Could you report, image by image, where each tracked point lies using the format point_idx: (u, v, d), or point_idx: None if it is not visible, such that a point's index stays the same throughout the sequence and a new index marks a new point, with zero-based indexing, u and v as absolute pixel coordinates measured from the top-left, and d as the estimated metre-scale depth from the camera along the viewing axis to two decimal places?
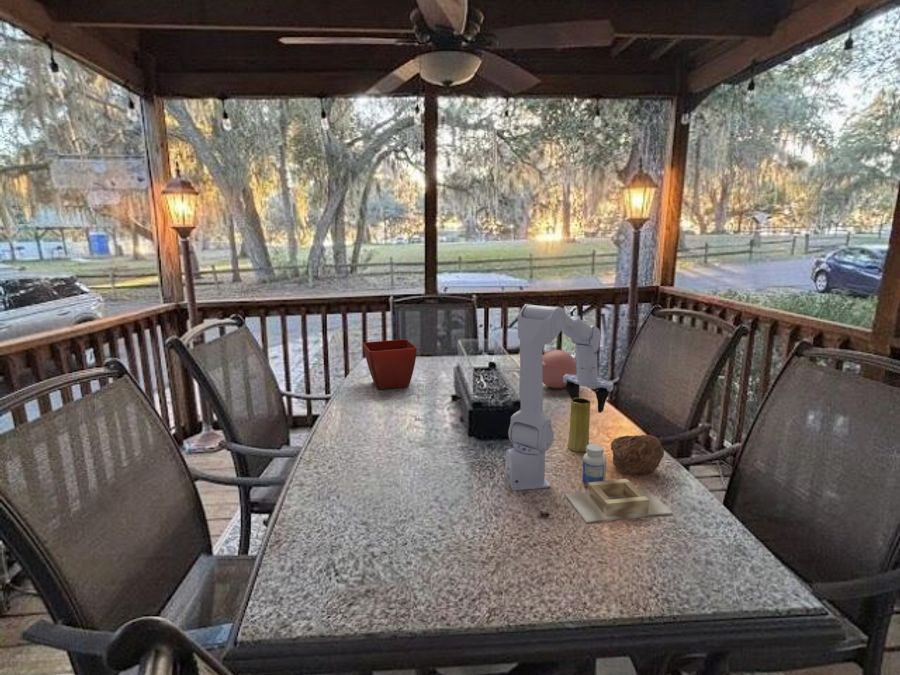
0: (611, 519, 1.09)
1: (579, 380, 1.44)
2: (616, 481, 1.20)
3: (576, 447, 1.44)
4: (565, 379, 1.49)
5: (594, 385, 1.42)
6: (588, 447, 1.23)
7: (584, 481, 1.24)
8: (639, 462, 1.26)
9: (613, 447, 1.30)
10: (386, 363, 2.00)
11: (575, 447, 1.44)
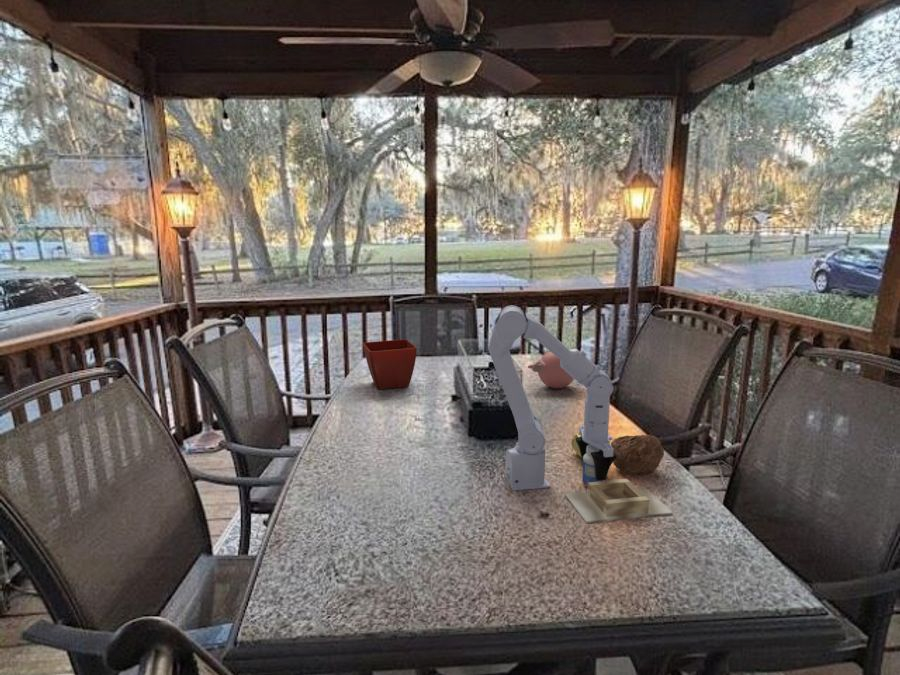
0: (611, 519, 1.09)
1: (583, 433, 1.23)
2: (616, 481, 1.20)
3: None
4: (580, 430, 1.29)
5: (592, 444, 1.20)
6: (588, 447, 1.23)
7: (584, 481, 1.24)
8: (639, 462, 1.26)
9: (613, 447, 1.30)
10: (386, 363, 2.00)
11: None
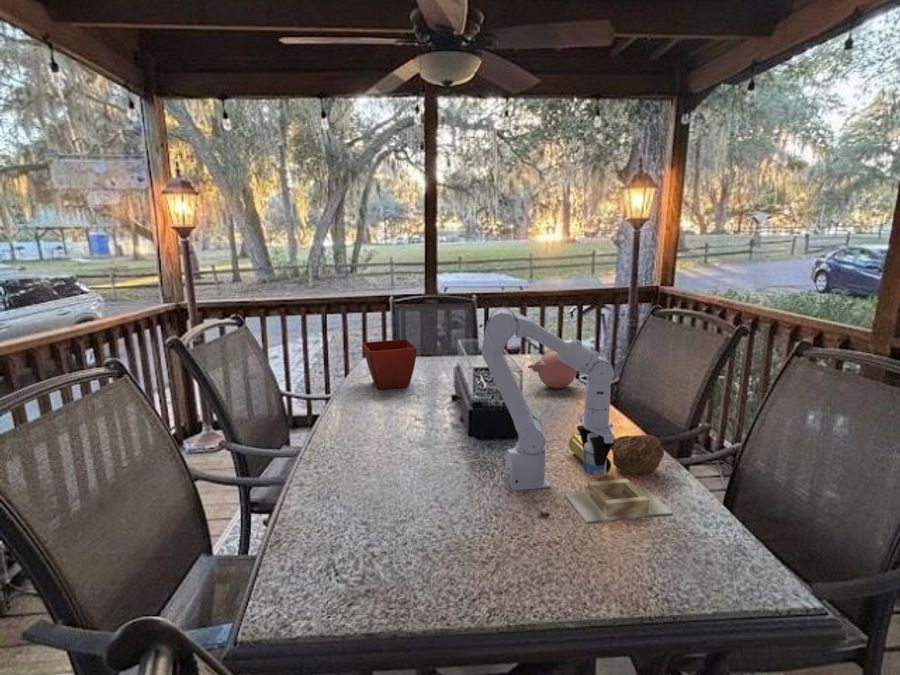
0: (611, 519, 1.09)
1: (584, 420, 1.23)
2: (616, 481, 1.20)
3: None
4: (581, 418, 1.28)
5: (593, 430, 1.19)
6: (589, 435, 1.23)
7: (585, 470, 1.24)
8: (639, 462, 1.26)
9: (613, 447, 1.30)
10: (386, 363, 2.00)
11: (574, 452, 1.42)
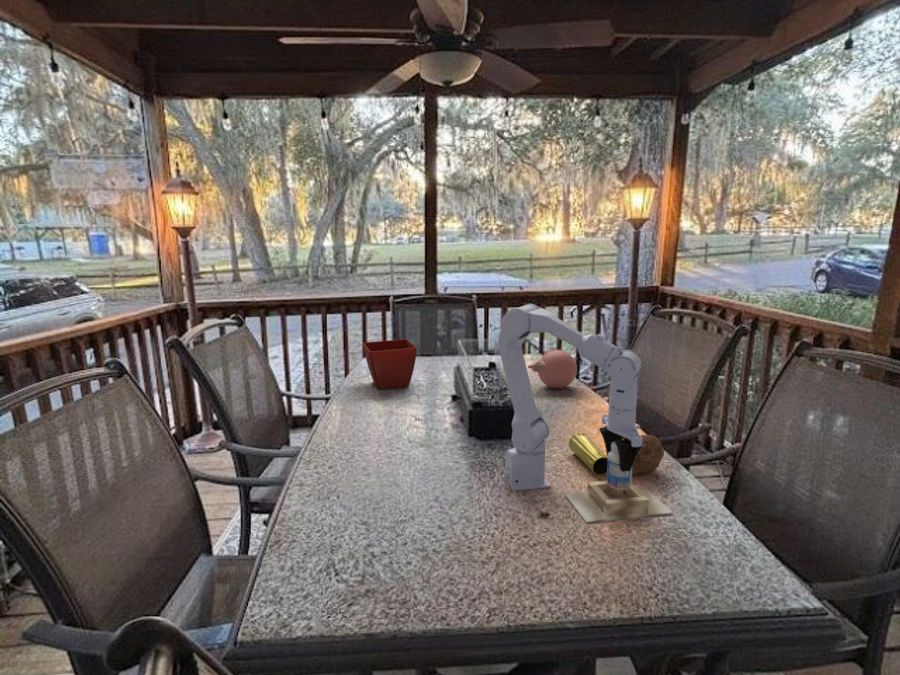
0: (611, 519, 1.09)
1: (608, 422, 1.13)
2: None
3: None
4: (603, 419, 1.18)
5: (619, 433, 1.09)
6: (613, 444, 1.13)
7: (608, 481, 1.14)
8: (639, 462, 1.26)
9: None
10: (386, 363, 2.00)
11: (574, 452, 1.42)
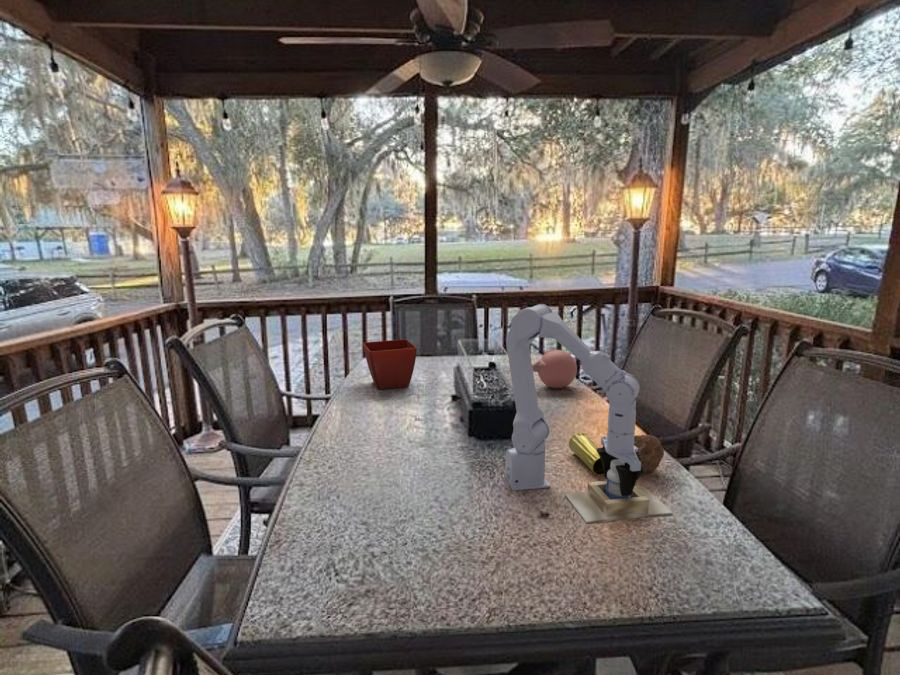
0: (611, 519, 1.09)
1: (606, 445, 1.14)
2: None
3: None
4: (602, 440, 1.19)
5: (617, 456, 1.10)
6: (612, 463, 1.14)
7: None
8: None
9: None
10: (386, 363, 2.00)
11: (574, 452, 1.42)
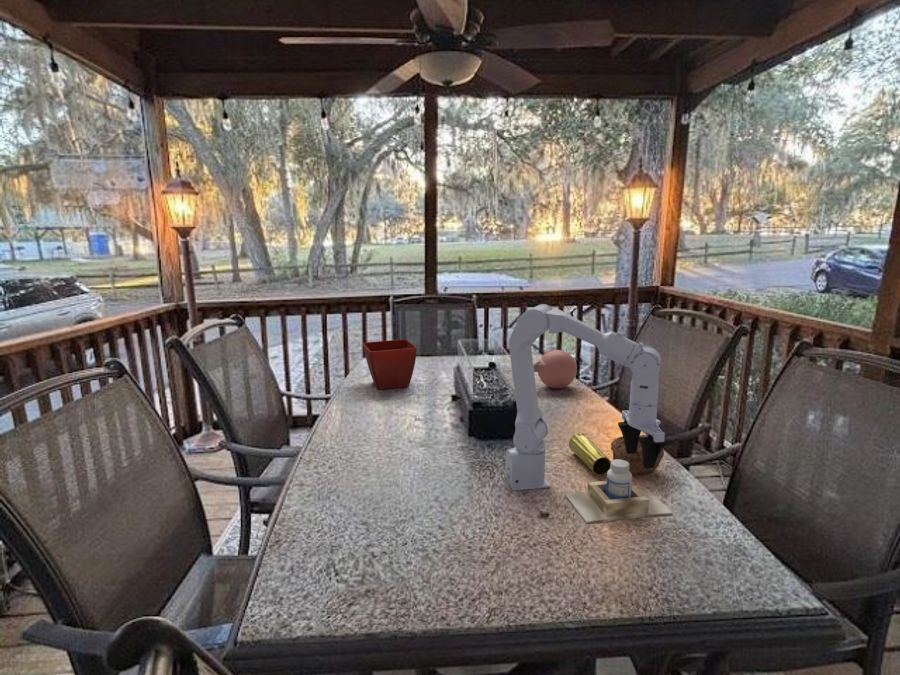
0: (611, 519, 1.09)
1: (628, 417, 1.13)
2: None
3: None
4: (623, 415, 1.19)
5: (640, 428, 1.09)
6: (612, 463, 1.14)
7: None
8: (639, 462, 1.26)
9: (613, 447, 1.30)
10: (386, 363, 2.00)
11: (574, 452, 1.42)
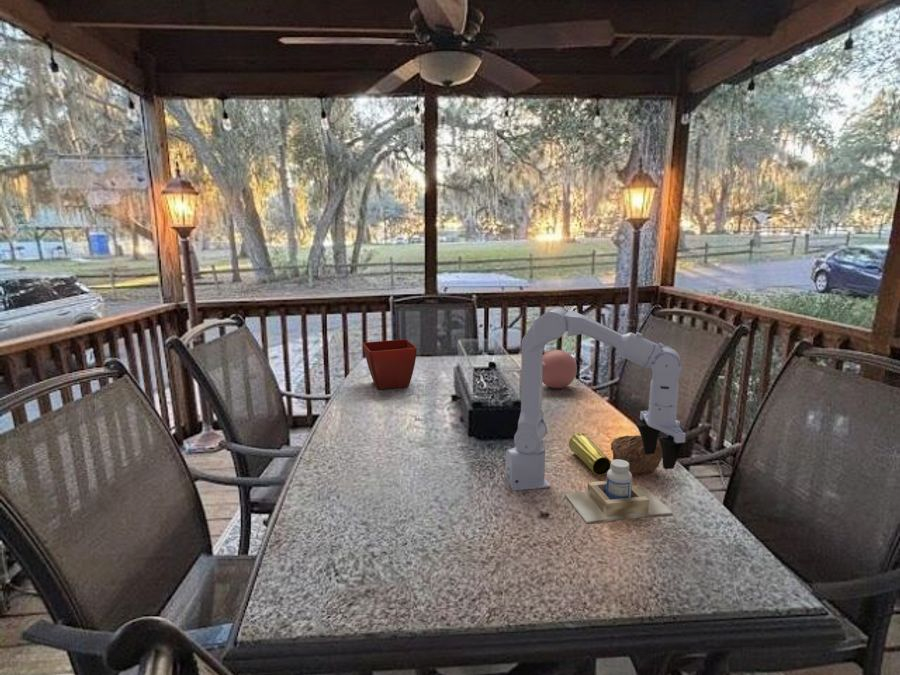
0: (611, 519, 1.09)
1: (648, 418, 1.13)
2: None
3: None
4: (641, 415, 1.19)
5: (660, 429, 1.09)
6: (612, 463, 1.14)
7: None
8: (639, 462, 1.26)
9: (613, 447, 1.30)
10: (386, 363, 2.00)
11: (574, 452, 1.42)
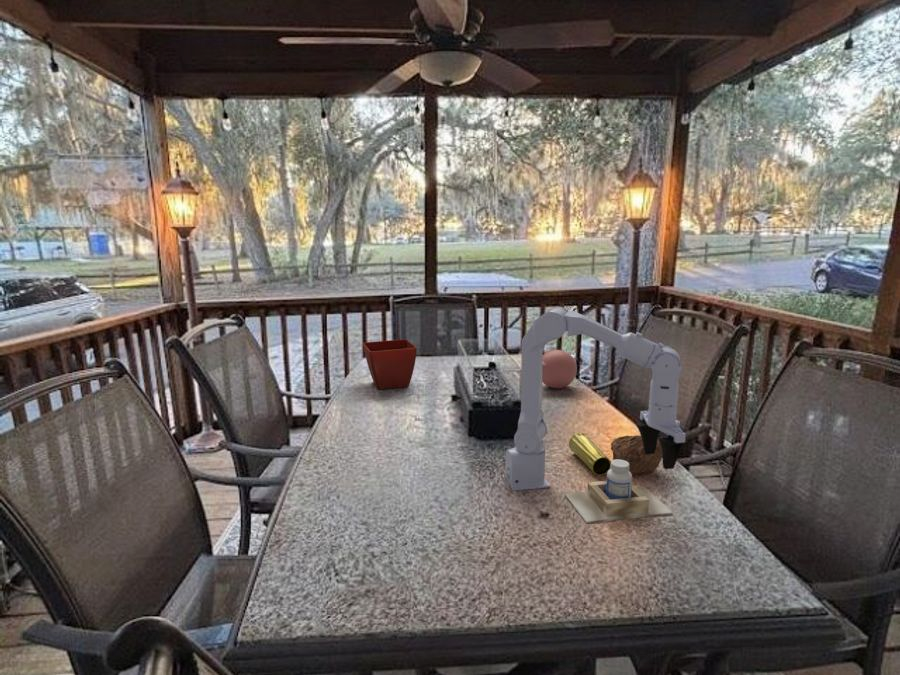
0: (611, 519, 1.09)
1: (648, 418, 1.13)
2: None
3: None
4: (641, 415, 1.19)
5: (660, 429, 1.09)
6: (612, 463, 1.14)
7: None
8: (639, 462, 1.26)
9: (613, 447, 1.30)
10: (386, 363, 2.00)
11: (574, 452, 1.42)
